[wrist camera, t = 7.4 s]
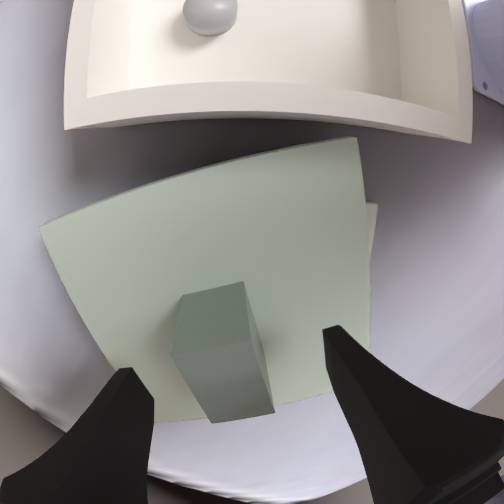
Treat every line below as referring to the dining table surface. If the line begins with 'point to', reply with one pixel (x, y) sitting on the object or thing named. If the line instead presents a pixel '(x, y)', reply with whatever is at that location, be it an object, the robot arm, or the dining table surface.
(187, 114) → the tub
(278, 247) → the lid
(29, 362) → the dining table surface
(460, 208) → the dining table surface
